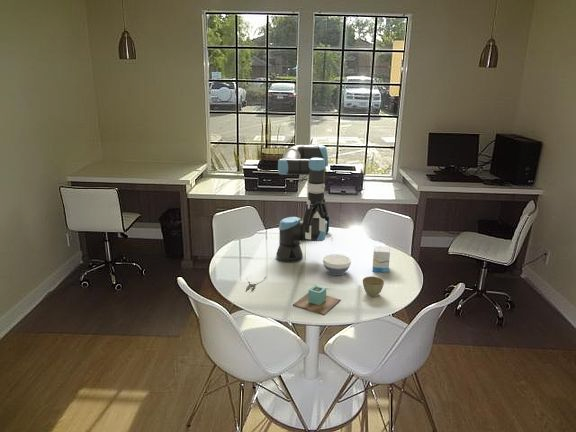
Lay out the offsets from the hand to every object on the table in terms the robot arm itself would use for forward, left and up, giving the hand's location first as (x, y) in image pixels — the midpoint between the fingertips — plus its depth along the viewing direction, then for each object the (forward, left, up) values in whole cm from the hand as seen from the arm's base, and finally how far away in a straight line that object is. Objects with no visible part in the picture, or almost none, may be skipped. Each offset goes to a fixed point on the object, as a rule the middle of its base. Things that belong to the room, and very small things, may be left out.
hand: (315, 234), depth 215 cm
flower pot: (+28, +7, -27) cm, 39 cm away
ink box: (+20, +38, -27) cm, 51 cm away
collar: (+10, -15, -26) cm, 31 cm away
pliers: (-26, -13, -27) cm, 40 cm away
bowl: (+2, +21, -27) cm, 34 cm away
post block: (+10, -15, -27) cm, 32 cm away
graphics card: (-41, +63, -27) cm, 80 cm away
